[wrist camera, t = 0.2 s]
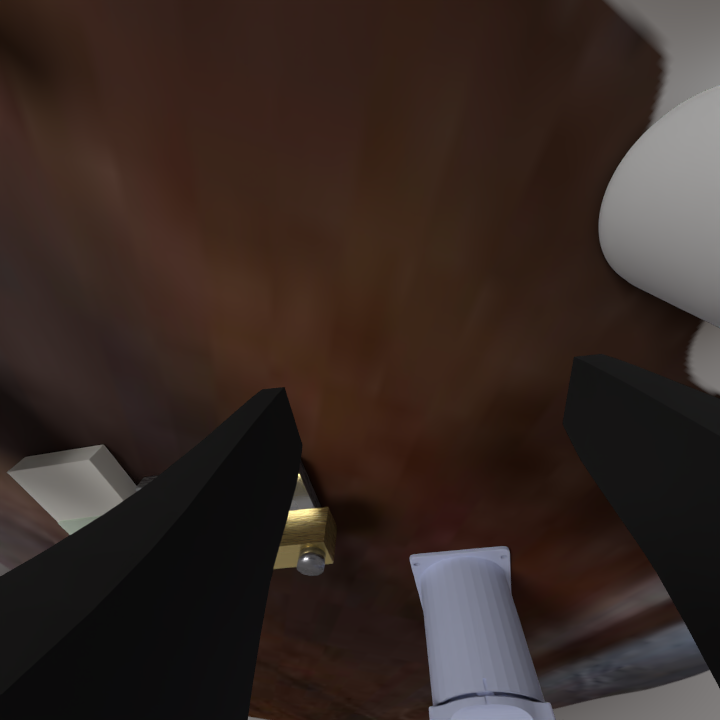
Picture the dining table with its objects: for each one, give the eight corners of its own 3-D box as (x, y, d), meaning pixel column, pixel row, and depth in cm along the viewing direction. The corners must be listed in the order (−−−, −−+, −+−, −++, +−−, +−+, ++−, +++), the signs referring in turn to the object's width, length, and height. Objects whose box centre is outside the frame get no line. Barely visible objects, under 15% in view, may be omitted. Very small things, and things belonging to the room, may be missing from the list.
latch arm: (339, 533, 24) (334, 583, 21) (182, 550, 25) (158, 597, 23) (325, 499, 22) (317, 548, 19) (157, 519, 24) (128, 566, 21)
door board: (205, 573, 31) (186, 619, 28) (142, 579, 32) (117, 624, 29) (103, 444, 24) (62, 487, 21) (25, 457, 25) (-26, 499, 22)
